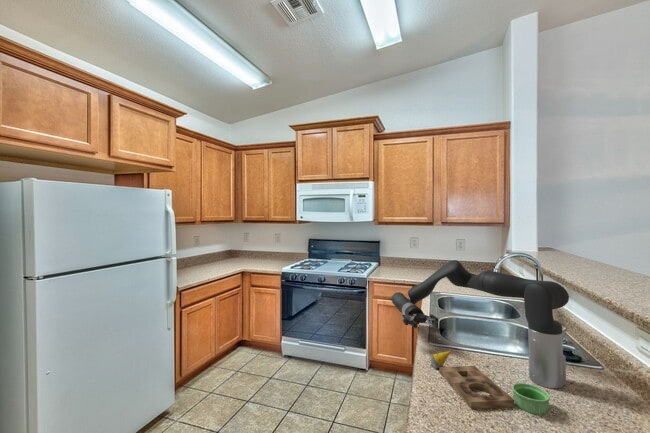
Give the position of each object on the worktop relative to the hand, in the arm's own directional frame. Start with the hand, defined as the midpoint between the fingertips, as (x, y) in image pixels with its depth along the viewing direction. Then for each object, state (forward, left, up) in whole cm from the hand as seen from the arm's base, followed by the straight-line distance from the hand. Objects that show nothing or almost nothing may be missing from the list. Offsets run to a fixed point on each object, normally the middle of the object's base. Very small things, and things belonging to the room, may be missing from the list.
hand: (426, 326), depth 120 cm
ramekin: (-16, +35, -12) cm, 40 cm away
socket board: (-5, +25, -11) cm, 28 cm away
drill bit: (0, +11, -11) cm, 16 cm away
